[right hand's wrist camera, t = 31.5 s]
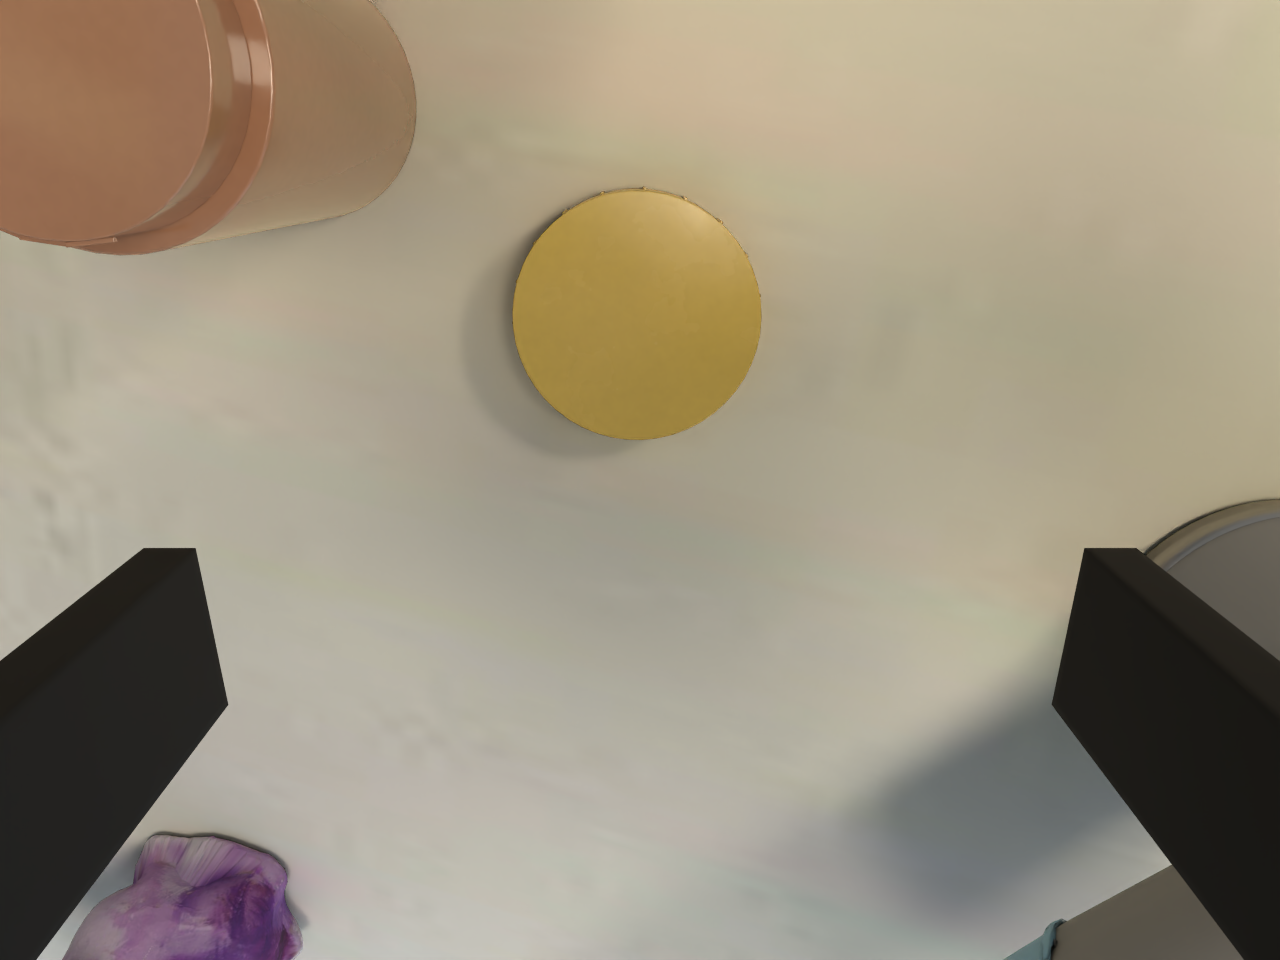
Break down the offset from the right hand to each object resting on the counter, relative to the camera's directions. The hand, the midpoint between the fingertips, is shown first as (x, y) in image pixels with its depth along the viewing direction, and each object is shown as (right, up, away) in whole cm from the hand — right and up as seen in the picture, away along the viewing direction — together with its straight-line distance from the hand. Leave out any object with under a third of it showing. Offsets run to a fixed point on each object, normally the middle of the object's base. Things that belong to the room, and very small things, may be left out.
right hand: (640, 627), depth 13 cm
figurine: (-25, -22, +37) cm, 50 cm away
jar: (-14, +18, +22) cm, 32 cm away
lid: (0, +9, +23) cm, 25 cm away
